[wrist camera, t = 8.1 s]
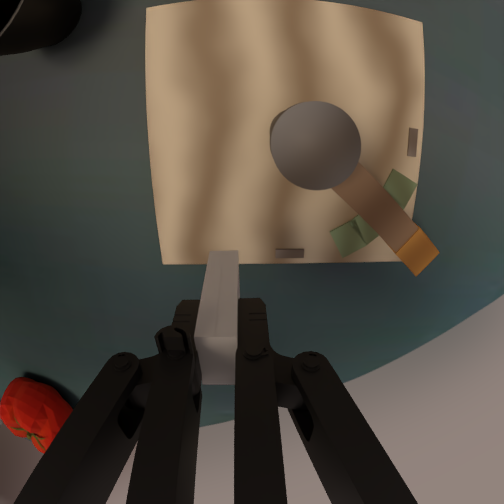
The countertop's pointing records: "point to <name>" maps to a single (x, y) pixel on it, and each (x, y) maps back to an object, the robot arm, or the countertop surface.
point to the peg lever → (343, 174)
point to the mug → (35, 23)
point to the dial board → (261, 116)
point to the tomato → (34, 411)
